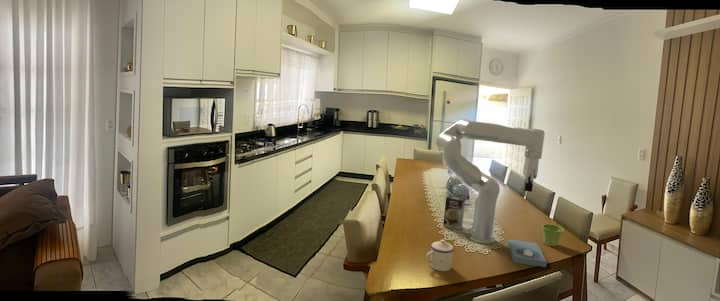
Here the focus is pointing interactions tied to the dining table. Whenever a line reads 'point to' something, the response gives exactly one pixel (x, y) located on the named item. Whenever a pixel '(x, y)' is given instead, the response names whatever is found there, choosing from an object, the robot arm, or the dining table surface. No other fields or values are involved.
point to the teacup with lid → (440, 256)
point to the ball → (528, 253)
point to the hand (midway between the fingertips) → (528, 190)
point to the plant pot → (551, 234)
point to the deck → (518, 257)
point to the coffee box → (454, 212)
